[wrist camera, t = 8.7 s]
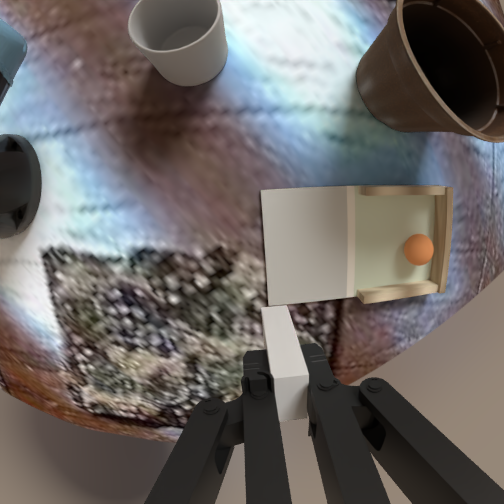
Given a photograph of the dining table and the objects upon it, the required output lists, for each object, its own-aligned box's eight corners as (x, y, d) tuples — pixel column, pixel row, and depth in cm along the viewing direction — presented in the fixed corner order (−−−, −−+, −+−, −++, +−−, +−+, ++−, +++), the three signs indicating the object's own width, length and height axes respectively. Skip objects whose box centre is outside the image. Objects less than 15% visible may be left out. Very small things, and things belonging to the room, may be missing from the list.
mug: (226, 86, 30) (218, 51, 20) (154, 89, 30) (119, 60, 20) (231, 5, 27) (228, -45, 17) (164, 9, 27) (140, -36, 16)
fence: (355, 294, 37) (365, 305, 34) (356, 185, 34) (367, 187, 30) (432, 283, 38) (444, 292, 34) (437, 185, 34) (453, 187, 30)
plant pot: (313, 51, 29) (358, -17, 14) (406, 23, 28) (471, -24, 12) (378, 167, 33) (462, 170, 18) (460, 123, 32) (544, 116, 16)
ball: (410, 273, 33) (436, 269, 32) (415, 243, 31) (441, 240, 31) (397, 258, 36) (422, 254, 36) (400, 230, 34) (425, 227, 34)
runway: (268, 303, 37) (268, 305, 37) (260, 190, 34) (260, 190, 33) (432, 283, 38) (434, 284, 37) (437, 185, 34) (440, 185, 33)
